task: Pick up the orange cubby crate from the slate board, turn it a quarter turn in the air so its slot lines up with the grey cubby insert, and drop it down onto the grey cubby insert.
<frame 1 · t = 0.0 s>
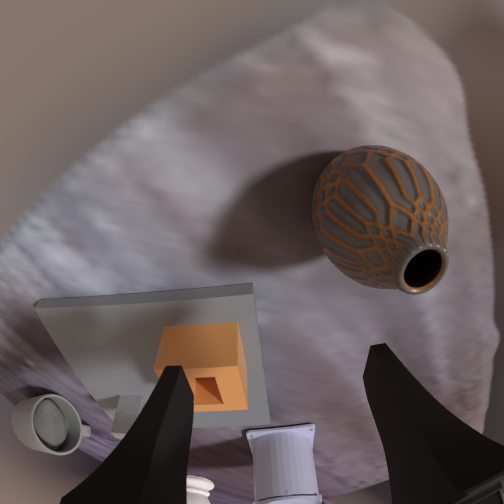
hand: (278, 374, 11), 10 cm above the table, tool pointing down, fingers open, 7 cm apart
orange cubby crate: (207, 349, 23), point 1 cm above the table, touching board
board: (163, 370, 27), on the table
grey cubby insert: (133, 398, 27), resting on board
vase: (355, 188, 19), on the table
ceramic mug: (60, 406, 32), on the table
cherub figurine: (197, 478, 44), on the table
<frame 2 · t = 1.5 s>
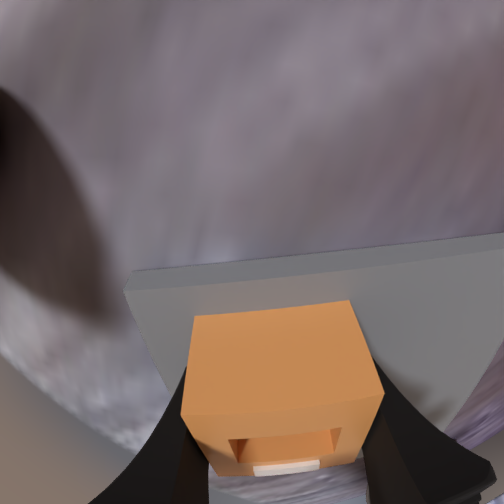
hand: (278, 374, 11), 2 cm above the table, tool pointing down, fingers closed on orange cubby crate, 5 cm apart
orange cubby crate: (276, 359, 12), point 1 cm above the table, touching board, gripper
board: (351, 389, 16), on the table
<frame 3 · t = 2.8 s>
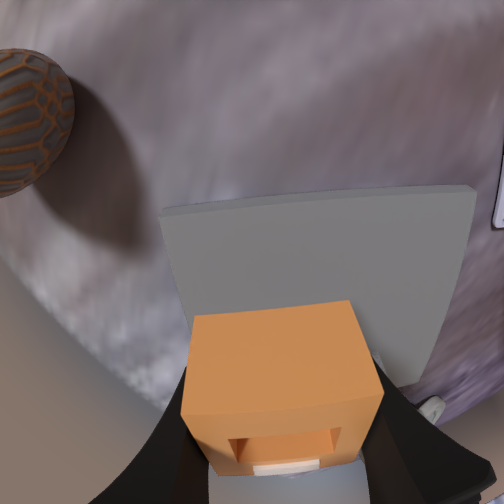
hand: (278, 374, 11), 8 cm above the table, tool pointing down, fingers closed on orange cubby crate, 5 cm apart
orange cubby crate: (276, 358, 12), point 7 cm above the table, touching gripper
board: (328, 318, 21), on the table
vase: (43, 109, 13), on the table
ceramic mug: (398, 413, 30), on the table
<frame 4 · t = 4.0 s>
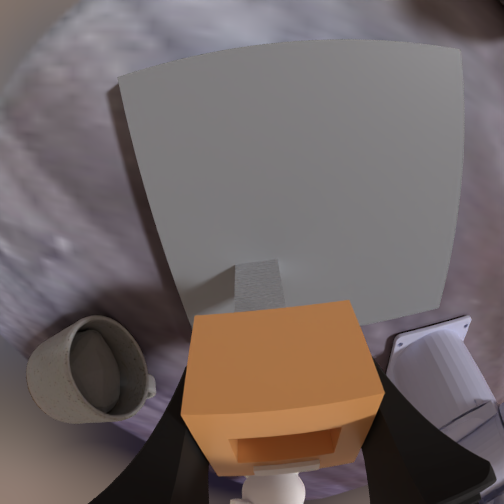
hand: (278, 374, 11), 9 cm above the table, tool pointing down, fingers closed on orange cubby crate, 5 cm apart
orange cubby crate: (276, 358, 12), point 8 cm above the table, touching gripper
board: (319, 204, 18), on the table
grey cubby insert: (257, 270, 18), resting on board
ceramic mug: (109, 349, 24), on the table
cherub figurine: (282, 452, 35), on the table
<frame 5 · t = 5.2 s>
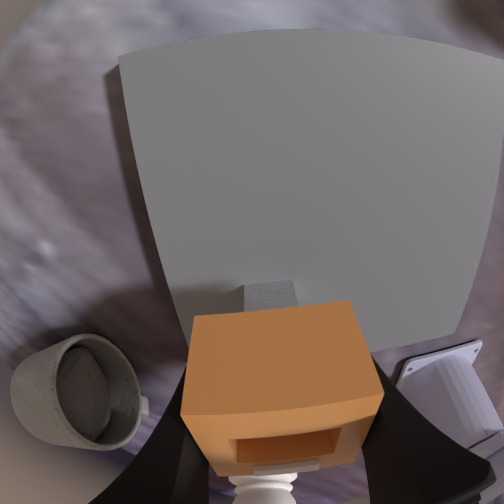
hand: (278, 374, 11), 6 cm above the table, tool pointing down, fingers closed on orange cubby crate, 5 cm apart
orange cubby crate: (276, 359, 12), point 6 cm above the table, touching gripper
board: (343, 220, 15), on the table
grey cubby insert: (269, 291, 16), resting on board
ceramic mug: (99, 366, 21), on the table
cherub figurine: (274, 469, 33), on the table
when the fingers open (4 cm above the table, at t = 6.3 s): orange cubby crate drops 2 cm, resting on board.
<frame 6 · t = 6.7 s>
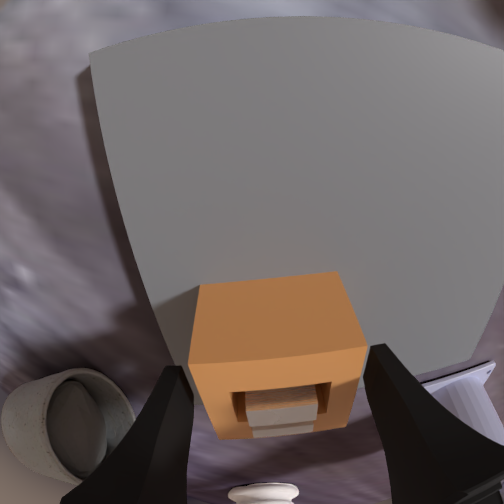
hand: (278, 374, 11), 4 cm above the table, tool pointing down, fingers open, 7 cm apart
orange cubby crate: (273, 327, 14), point 1 cm above the table, touching board
board: (359, 245, 13), on the table
grey cubby insert: (272, 328, 14), resting on board
ceramic mug: (93, 395, 19), on the table
cherub figurine: (275, 486, 30), on the table
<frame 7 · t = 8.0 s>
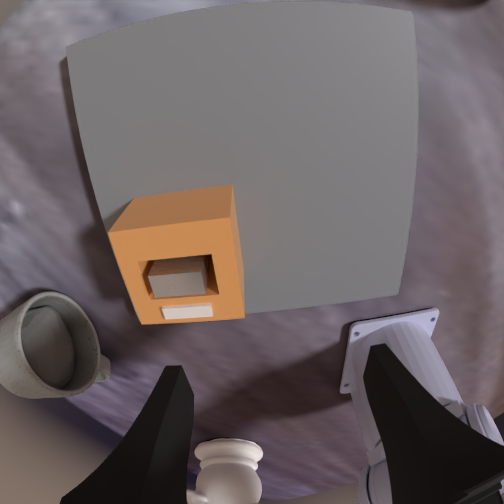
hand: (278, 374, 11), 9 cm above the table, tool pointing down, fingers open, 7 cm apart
orange cubby crate: (190, 236, 18), point 1 cm above the table, touching board
board: (255, 170, 17), on the table
grey cubby insert: (190, 236, 18), resting on board
ceramic mug: (67, 328, 23), on the table
cherub figurine: (240, 445, 34), on the table
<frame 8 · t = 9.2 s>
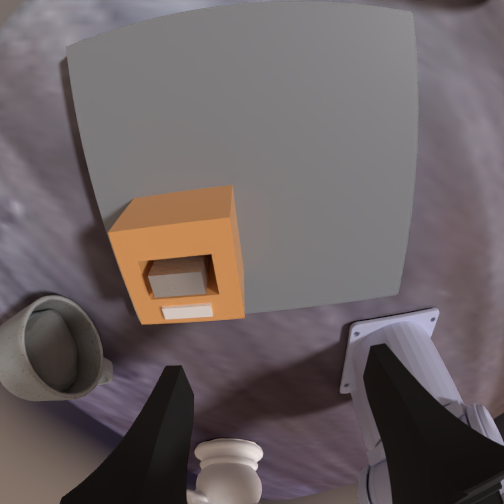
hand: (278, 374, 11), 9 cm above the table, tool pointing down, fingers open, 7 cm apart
orange cubby crate: (190, 236, 18), point 1 cm above the table, touching board
board: (255, 170, 17), on the table
grey cubby insert: (190, 236, 18), resting on board
ceramic mug: (70, 331, 24), on the table
cherub figurine: (240, 445, 34), on the table
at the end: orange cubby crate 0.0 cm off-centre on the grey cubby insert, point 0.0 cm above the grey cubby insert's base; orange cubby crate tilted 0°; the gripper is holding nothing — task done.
